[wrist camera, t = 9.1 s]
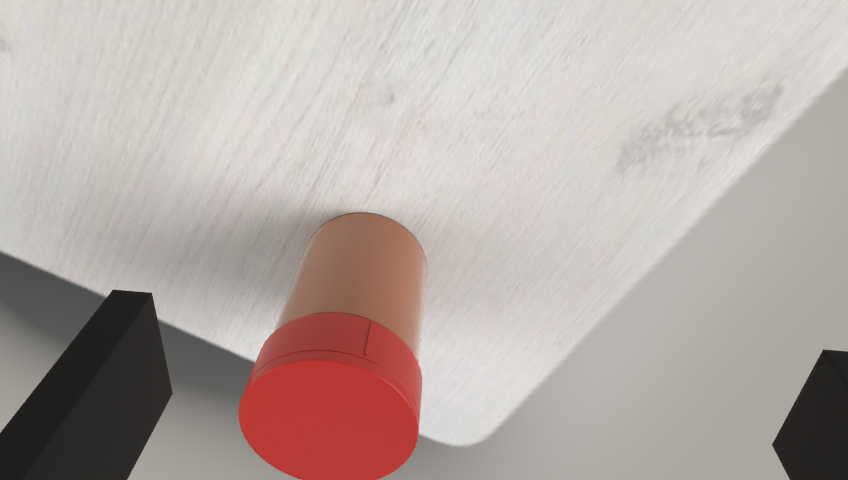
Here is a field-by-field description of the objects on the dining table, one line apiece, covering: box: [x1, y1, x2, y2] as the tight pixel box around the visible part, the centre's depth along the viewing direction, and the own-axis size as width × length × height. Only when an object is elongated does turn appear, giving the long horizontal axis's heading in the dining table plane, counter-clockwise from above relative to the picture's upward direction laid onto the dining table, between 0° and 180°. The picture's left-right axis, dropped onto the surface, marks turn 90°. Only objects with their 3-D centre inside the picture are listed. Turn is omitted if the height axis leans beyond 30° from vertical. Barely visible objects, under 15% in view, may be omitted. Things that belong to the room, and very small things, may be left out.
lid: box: [239, 313, 422, 480], centre depth 28 cm, size 8×8×3 cm
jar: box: [273, 213, 427, 364], centre depth 32 cm, size 7×7×12 cm
